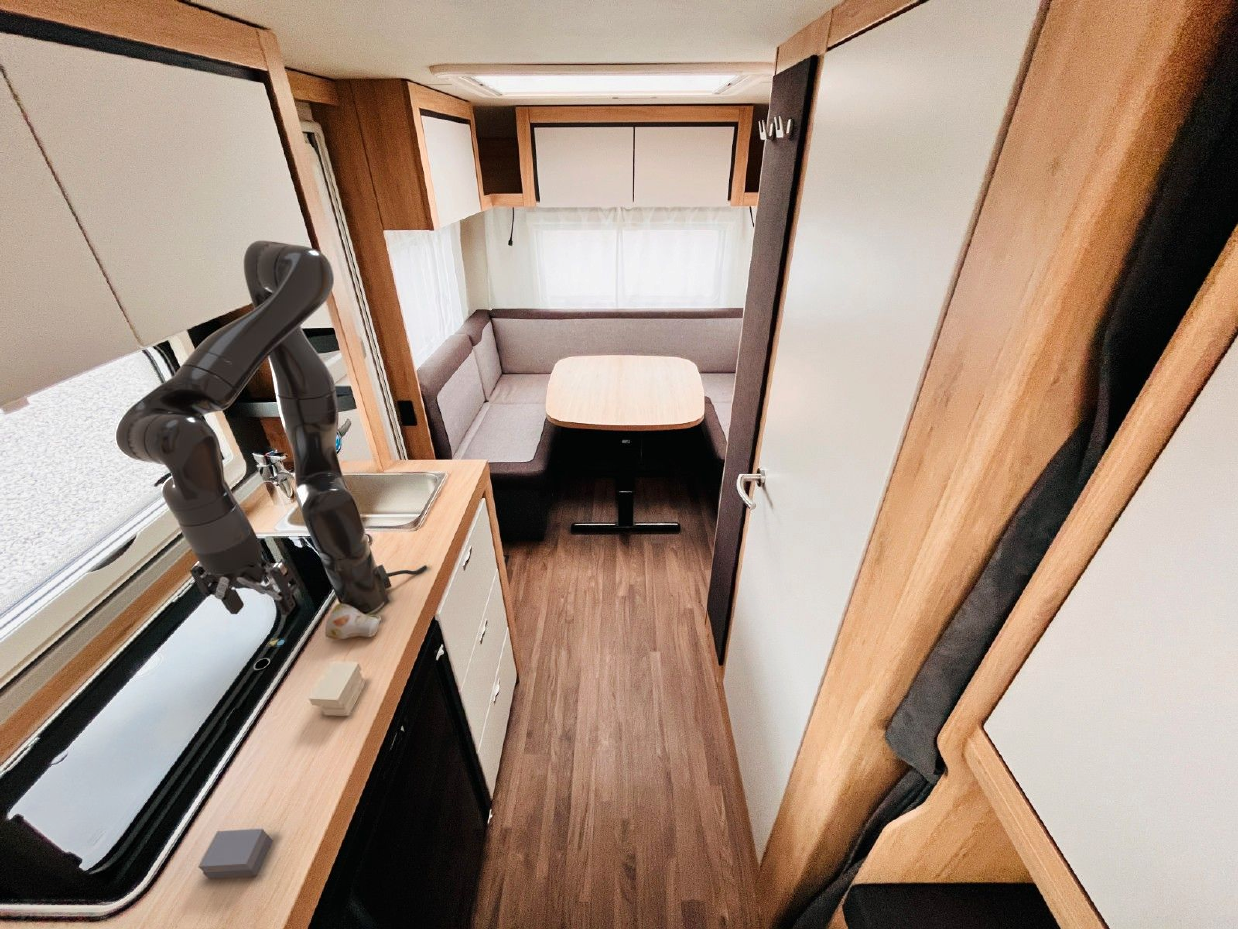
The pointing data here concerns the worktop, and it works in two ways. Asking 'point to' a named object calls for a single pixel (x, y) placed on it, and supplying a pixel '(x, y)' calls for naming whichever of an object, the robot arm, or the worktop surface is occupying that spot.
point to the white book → (335, 684)
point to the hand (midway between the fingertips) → (263, 610)
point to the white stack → (347, 699)
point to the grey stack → (235, 854)
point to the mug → (350, 623)
